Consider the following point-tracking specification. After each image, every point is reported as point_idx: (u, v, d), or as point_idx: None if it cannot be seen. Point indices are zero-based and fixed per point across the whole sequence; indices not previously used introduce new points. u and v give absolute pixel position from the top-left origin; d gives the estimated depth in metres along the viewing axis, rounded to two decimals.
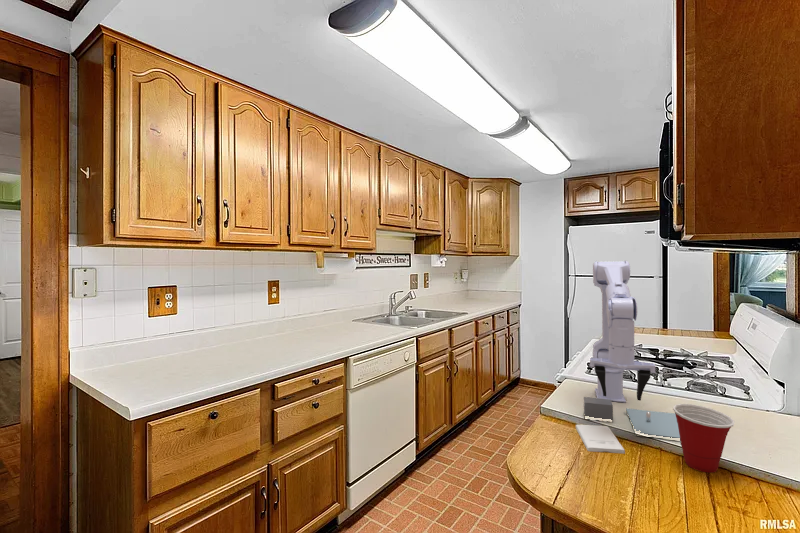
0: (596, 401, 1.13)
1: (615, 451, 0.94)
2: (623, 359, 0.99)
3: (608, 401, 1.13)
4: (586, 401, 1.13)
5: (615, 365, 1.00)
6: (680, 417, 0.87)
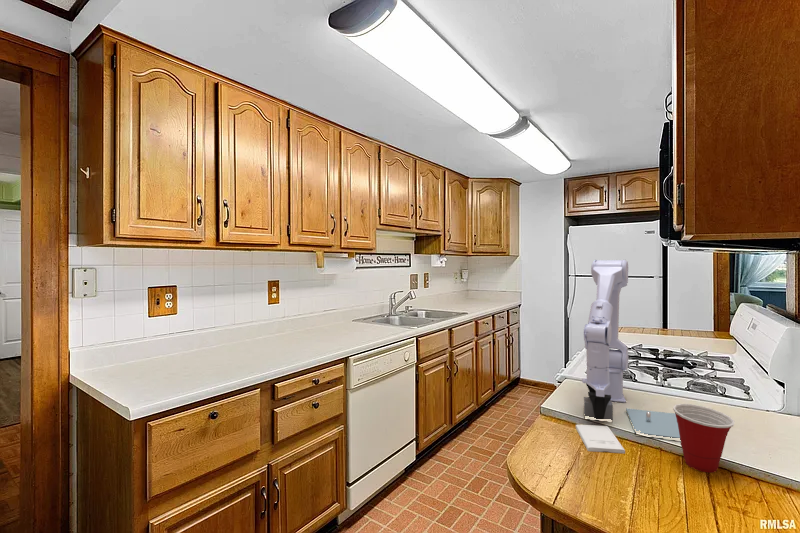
0: None
1: (615, 451, 0.94)
2: None
3: None
4: (586, 401, 1.13)
5: None
6: (680, 417, 0.87)
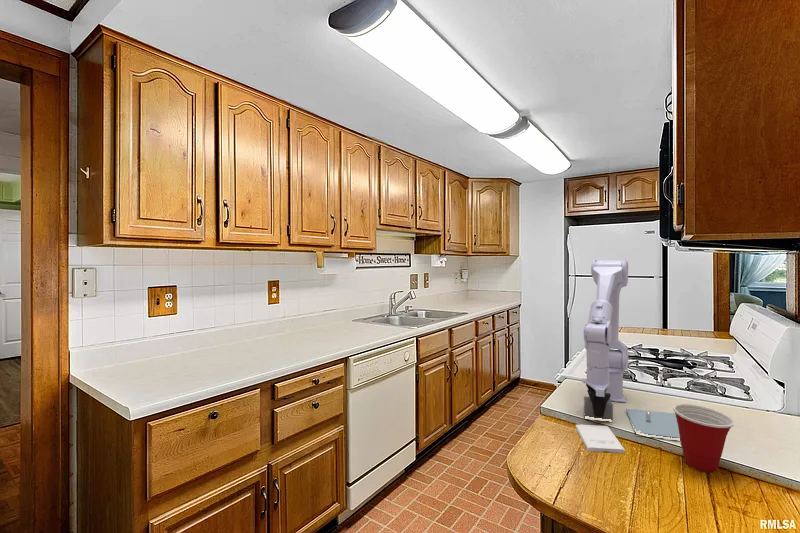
0: None
1: (615, 451, 0.94)
2: None
3: (608, 401, 1.13)
4: (586, 401, 1.13)
5: None
6: (680, 417, 0.87)
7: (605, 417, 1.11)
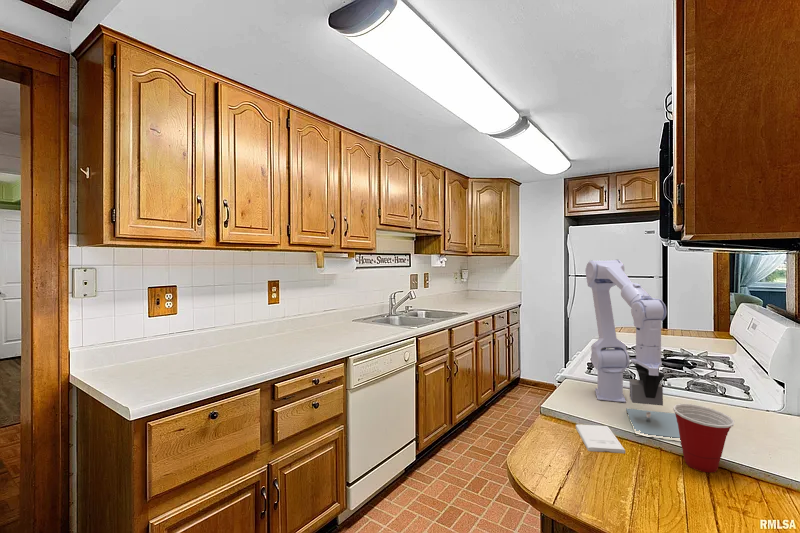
0: None
1: (615, 451, 0.95)
2: (636, 354, 1.08)
3: None
4: (633, 383, 1.08)
5: None
6: (680, 417, 0.87)
7: (654, 400, 1.05)
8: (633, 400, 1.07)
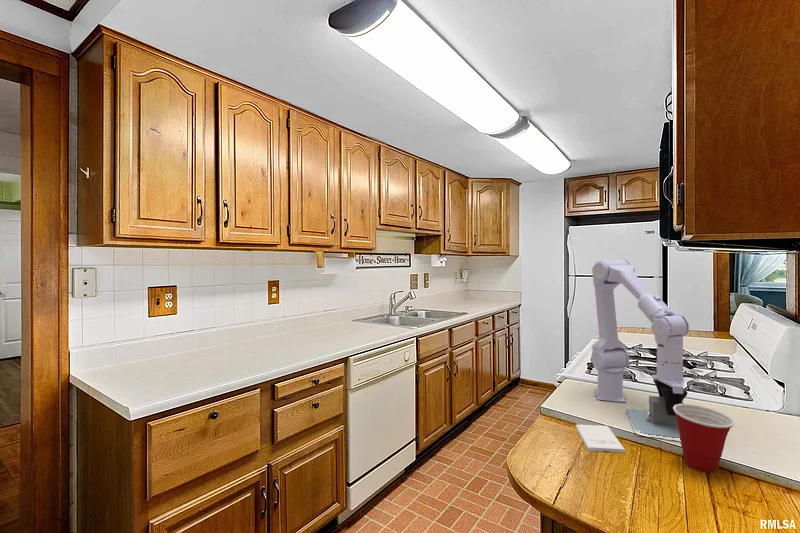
0: (664, 400, 1.06)
1: (615, 451, 0.95)
2: (657, 371, 1.06)
3: None
4: (654, 400, 1.06)
5: None
6: (680, 417, 0.87)
7: None
8: (654, 418, 1.05)
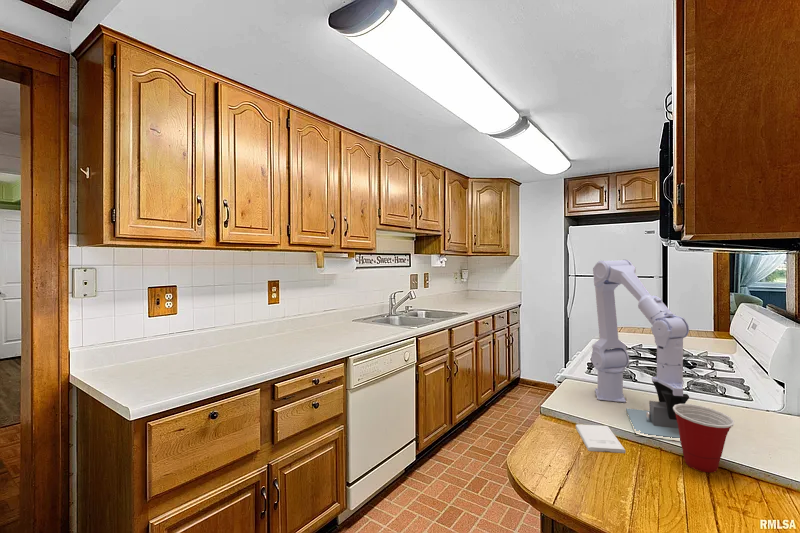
0: (665, 405, 1.06)
1: (616, 451, 0.95)
2: (657, 373, 1.06)
3: None
4: (654, 405, 1.06)
5: None
6: (680, 417, 0.87)
7: (676, 423, 1.04)
8: (654, 423, 1.05)
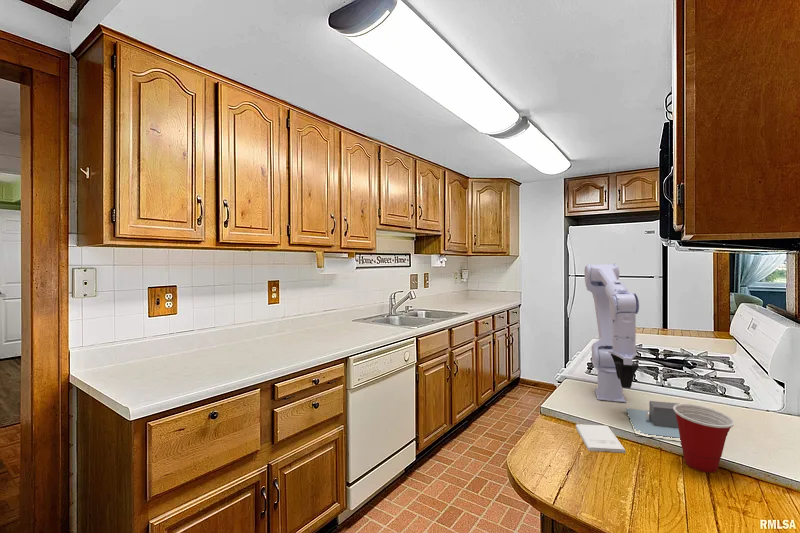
0: (665, 405, 1.06)
1: (616, 451, 0.95)
2: (612, 346, 1.14)
3: None
4: (654, 405, 1.06)
5: None
6: (680, 417, 0.87)
7: (676, 423, 1.04)
8: (654, 423, 1.05)
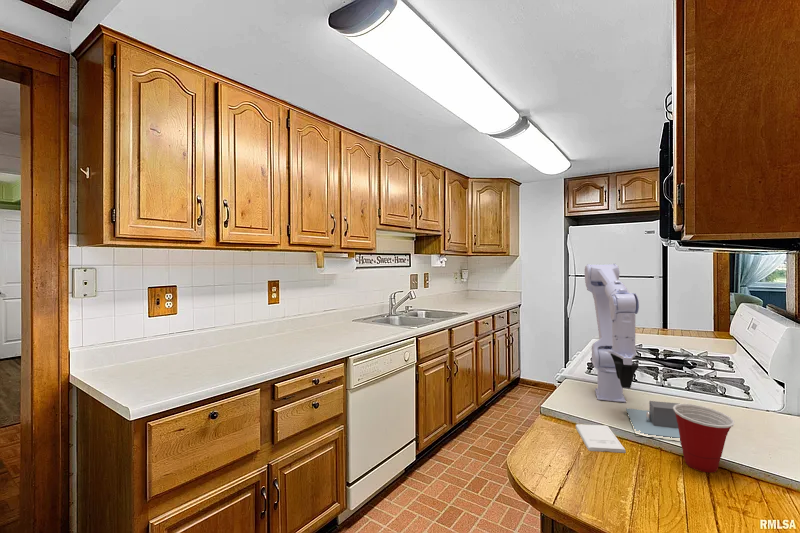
0: (665, 405, 1.06)
1: (616, 451, 0.95)
2: (612, 345, 1.14)
3: None
4: (654, 405, 1.06)
5: None
6: (680, 417, 0.87)
7: (676, 423, 1.04)
8: (654, 423, 1.05)
